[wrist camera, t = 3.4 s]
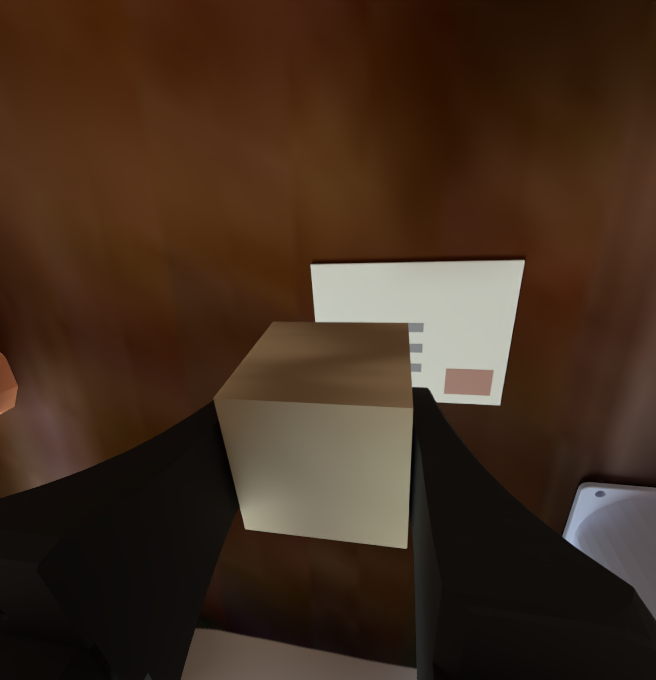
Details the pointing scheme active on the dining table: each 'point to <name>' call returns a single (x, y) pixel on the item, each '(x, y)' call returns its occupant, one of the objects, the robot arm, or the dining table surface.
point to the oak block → (323, 431)
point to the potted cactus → (7, 386)
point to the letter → (433, 317)
